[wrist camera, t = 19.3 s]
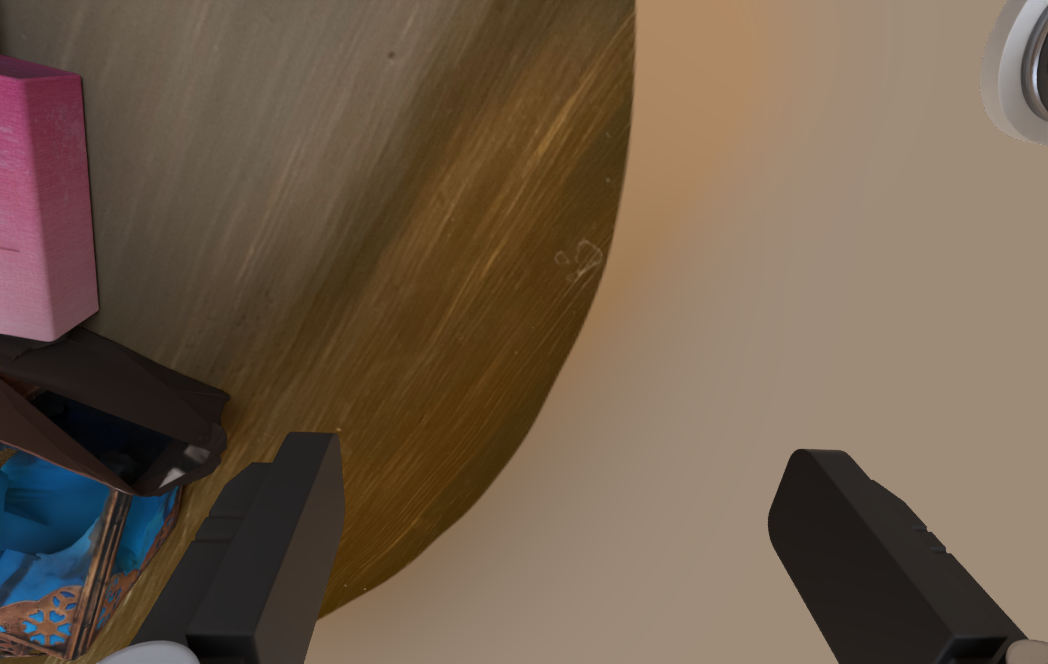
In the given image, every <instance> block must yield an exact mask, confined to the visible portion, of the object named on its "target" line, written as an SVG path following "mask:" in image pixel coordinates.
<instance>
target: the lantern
mask: <svg viewBox="0 0 1048 664" xmlns="http://www.w3.org/2000/svg"><path fill="white" fill-rule="evenodd" d="M229 399H230V396H229V395H227V394H225V393H224V392H223V391H220V390H218V389H215V388H212V387H209V386H207V385H204V384H202V383H199V382H197V381H195V380H192V379H190V378H187V377H185V376H183V375H180V374H178V373H176V372H174V371H171V370H169V369H167V368H165V367H162V366H160V365H158V364H156V363H154V362H152V361H150V360H148V359H146V358H144V357H142V356H139V355H138V354H136V353H134V352H132V351H130V350H128V349H126V348H124V347H122V346H120V345H118V344H116V343H114V342H112V341H110V340H107V339H105V338H103V337H101V336H98V335H96V334H94V333H92V332H90V331H88V330H86V329H83V328H81V327H79V326H75V327H74V328H72V329H71V330H69V331H68V332H66V333H65V334H63V335H62V336H60V337H59V338H57V339H56V340H54V341H51V342H45V341H40V340H34V339H28V338H23V337H17V336H12V335H6V334H0V451H1V450H3V449H5V448H11V449H15V450H17V451H16V452H15V453H14V454H13V455H12V456H11V457H10V458H9V459H8V461H7V462H6V463H5V464H4V465H3V466H2V467H1V469H0V660H1V659H2V658H4V657H27V656H29V657H31V656H33V657H34V656H42V655H52V656H55V657H57V658H60V659H64V660H68V661H71V660H76V659H77V658H79V657H80V656H81V655H83V654H85V653H86V652H87V651H88V650H89V649H90V647H91V645H92V644H93V642H94V641H95V639H96V638H97V636H98V635H99V634H100V632H101V631H102V629H103V628H104V626H105V625H106V624H107V623H108V621H109V620H110V618H111V617H112V616H113V614H114V612H115V610H116V609H117V608H118V606H119V604H120V603H121V602H122V600H123V599H124V598H125V597H126V595H127V594H128V593H129V591H130V590H131V588H132V587H133V585H134V584H135V583H136V581H137V580H138V578H139V577H140V576H141V574H142V572H143V571H144V570H145V568H146V567H147V566H148V564H149V563H150V561H151V560H152V558H153V557H154V555H155V554H156V553H157V552H158V550H159V549H160V547H161V545H162V544H163V543H164V541H165V540H166V539H167V537H168V536H169V534H170V533H171V532H172V530H173V529H174V528H175V526H176V523H177V518H178V511H179V504H180V498H181V492H182V487H183V485H186V484H190V483H192V482H193V481H196V480H198V479H201V478H203V477H206V476H208V475H209V474H211V473H213V472H214V470H215V469H216V468H217V467H218V466H219V465H220V463H221V457H220V454H221V453H222V452H223V451H225V450H226V449H227V436H226V433H225V430H224V429H223V428H222V427H221V421H220V416H221V413H222V410H223V407H224V404H225V402H226V401H228V400H229ZM34 649H36V650H39V651H42V652H45V653H40V654H37V653H36V654H27V653H29V652H30V651H32V650H34Z"/></svg>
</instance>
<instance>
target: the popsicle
mask: <svg viewBox="0 0 1048 664" xmlns="http://www.w3.org/2000/svg"><path fill="white" fill-rule="evenodd" d="M98 310H99V305H98V292H97V280H96V267H95V254H94V241H93V229H92V216H91V203H90V190H89V178H88V165H87V152H86V139H85V126H84V114H83V101H82V88H81V77H80V76H79V75H78V74H75V73H71V72H67V71H63V70H59V69H55V68H51V67H47V66H43V65H39V64H36V63H32V62H28V61H24V60H20V59H16V58H12V57H8V56H4V55H0V334H6V335H12V336H17V337H23V338H28V339H34V340H40V341H45V342H51V341H54V340H56V339H57V338H59V337H60V336H62V335H63V334H65V333H66V332H68V331H69V330H71V329H72V328H74V327H75V326H76V325H78V324H79V323H81V322H82V321H84V320H85V319H87V318H88V317H90V316H91V315H93V314H94V313H95V312H97V311H98Z"/></svg>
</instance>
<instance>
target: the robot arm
mask: <svg viewBox="0 0 1048 664" xmlns="http://www.w3.org/2000/svg"><path fill="white" fill-rule="evenodd" d="M1021 87H1022V92H1023V96H1024V98H1025V101H1026V103H1027V105H1028V106H1029V108H1030V109H1031V110H1032V112H1033V113H1034V114H1035V115H1037V116H1038V117H1039V118H1041V119H1042V120H1044V121H1046V122H1048V6H1047V7H1046V8H1045V10H1044V11H1043V13H1042V14H1041V16H1040V17H1039V19H1038V21H1037V23H1036V24H1035V26H1034V28H1033V30H1032V32H1031V35H1030V37H1029V40H1028V42H1027V45H1026V48H1025V51H1024V55H1023V59H1022V66H1021ZM344 512H345V499H344V487H343V475H342V463H341V451H340V441H339V437H338V435H337V434H336V433H315V432H290V433H288V435H287V436H286V438H285V439H284V441H283V443H282V445H281V447H280V449H279V451H278V453H277V455H276V457H275V459H274V461H273V463H258V462H252V463H251V464H250V465H248V466H247V467H246V468H245V469H244V470H242V471H241V472H240V473H239V474H238V475H236V476H235V477H234V478H233V479H232V480H230V481H229V482H228V483H227V484H226V485H225V486H224V488H223V489H222V491H221V493H220V495H219V496H218V498H217V500H216V501H215V503H214V505H213V506H212V508H211V510H210V511H209V517H206V518H205V520H204V521H203V523H202V525H201V527H200V528H199V530H198V532H197V533H196V538H195V541H192V542H191V543H190V545H189V547H188V548H187V550H186V552H185V553H184V555H183V557H182V559H181V560H180V562H179V564H178V565H177V567H176V569H175V570H174V572H173V574H172V575H171V577H170V579H169V580H168V582H167V584H166V585H165V587H164V589H163V591H162V592H161V594H160V596H159V597H158V599H157V601H156V602H155V604H154V606H153V607H152V609H151V611H150V612H149V614H148V616H147V617H146V619H145V621H144V623H143V624H142V626H141V628H140V629H139V631H138V633H137V634H136V636H135V637H134V639H133V640H132V642H131V643H130V644H129V646H128V647H126V648H124V649H122V650H119V651H117V652H115V653H113V654H111V655H109V656H107V657H106V658H104V659H102V660H100V661H99V662H98V663H96V664H304V660H305V656H306V653H307V650H308V647H309V643H310V640H311V637H312V633H313V630H314V626H315V623H316V620H317V617H318V613H319V610H320V606H321V603H322V600H323V596H324V593H325V590H326V586H327V583H328V579H329V576H330V573H331V569H332V566H333V563H334V559H335V556H336V553H337V549H338V546H339V542H340V539H341V534H342V529H343V523H344ZM926 528H927V527H926V525H925V524H924V523H923V522H922V521H921V520H920V519H919V518H918V517H917V515H916V514H915V513H914V512H913V511H912V510H911V509H910V508H909V507H908V506H907V504H906V503H905V502H904V501H902V500H901V499H900V498H898V497H897V496H895V495H894V494H893V493H891V492H890V491H888V490H887V489H886V488H884V487H883V486H881V485H880V484H878V483H877V482H876V481H874V480H871V479H870V478H869V477H868V476H867V475H866V474H865V473H864V471H863V470H862V469H861V468H860V467H859V466H858V465H857V464H856V462H855V461H854V460H853V459H852V458H851V457H850V456H849V455H848V454H847V453H846V452H844V451H841V450H819V449H818V450H817V449H798V450H796V451H795V452H794V453H793V454H792V455H791V457H790V459H789V461H788V464H787V466H786V469H785V472H784V474H783V477H782V480H781V482H780V485H779V488H778V490H777V493H776V495H775V498H774V500H773V503H772V506H771V508H770V512H769V516H768V531H769V536H770V540H771V543H772V545H773V547H774V549H775V551H776V553H777V555H778V556H779V558H780V560H781V562H782V563H783V565H784V567H785V569H786V570H787V572H788V574H789V576H790V578H791V579H792V581H793V583H794V585H795V587H796V588H797V590H798V592H799V594H800V595H801V597H802V599H803V601H804V602H805V604H806V606H807V608H808V609H809V611H810V613H811V614H812V617H813V618H814V620H815V622H816V624H817V625H818V627H819V629H820V631H821V632H822V634H823V636H824V638H825V640H826V641H827V643H828V645H829V647H830V648H831V650H832V652H833V653H834V655H835V657H836V659H837V661H838V663H839V664H1048V643H1047V642H1044V641H1038V640H1029V639H1028V638H1027V637H1026V636H1025V635H1024V633H1023V632H1022V631H1021V630H1020V629H1019V628H1018V627H1017V626H1016V625H1015V624H1014V623H1013V622H1012V620H1011V619H1010V618H1009V617H1008V616H1007V615H1006V614H1005V612H1004V611H1003V610H1002V609H1001V608H1000V607H999V606H998V605H997V604H996V603H995V602H994V600H993V599H992V598H991V597H990V596H989V595H988V594H987V593H986V592H985V590H983V588H982V587H981V586H980V585H979V584H978V583H977V582H976V581H975V579H974V578H973V577H972V576H971V575H970V574H969V573H968V572H967V571H966V569H965V568H964V567H963V566H962V565H961V564H960V563H959V562H958V561H957V560H956V558H955V557H954V556H953V555H952V554H951V553H950V554H949V553H946V547H945V546H944V545H943V544H942V543H941V542H940V541H939V540H938V539H937V538H936V536H935V535H934V534H933V533H932V532H928V531H927V529H926Z"/></svg>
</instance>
